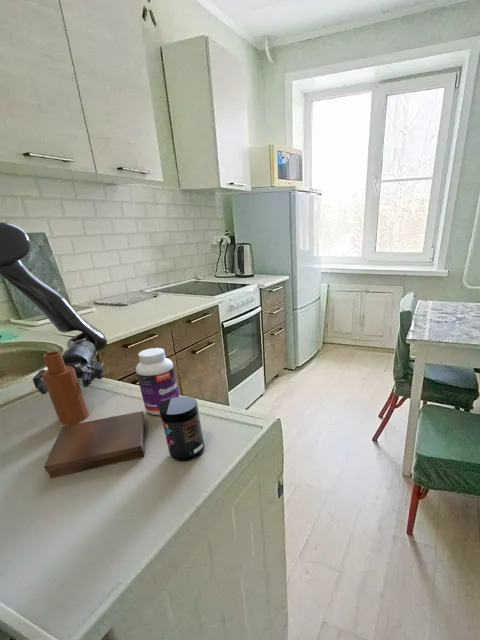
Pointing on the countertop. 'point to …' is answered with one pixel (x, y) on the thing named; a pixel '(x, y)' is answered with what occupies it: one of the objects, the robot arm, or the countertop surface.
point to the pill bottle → (156, 379)
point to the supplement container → (182, 428)
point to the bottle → (64, 389)
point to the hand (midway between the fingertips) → (63, 386)
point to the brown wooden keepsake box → (97, 444)
